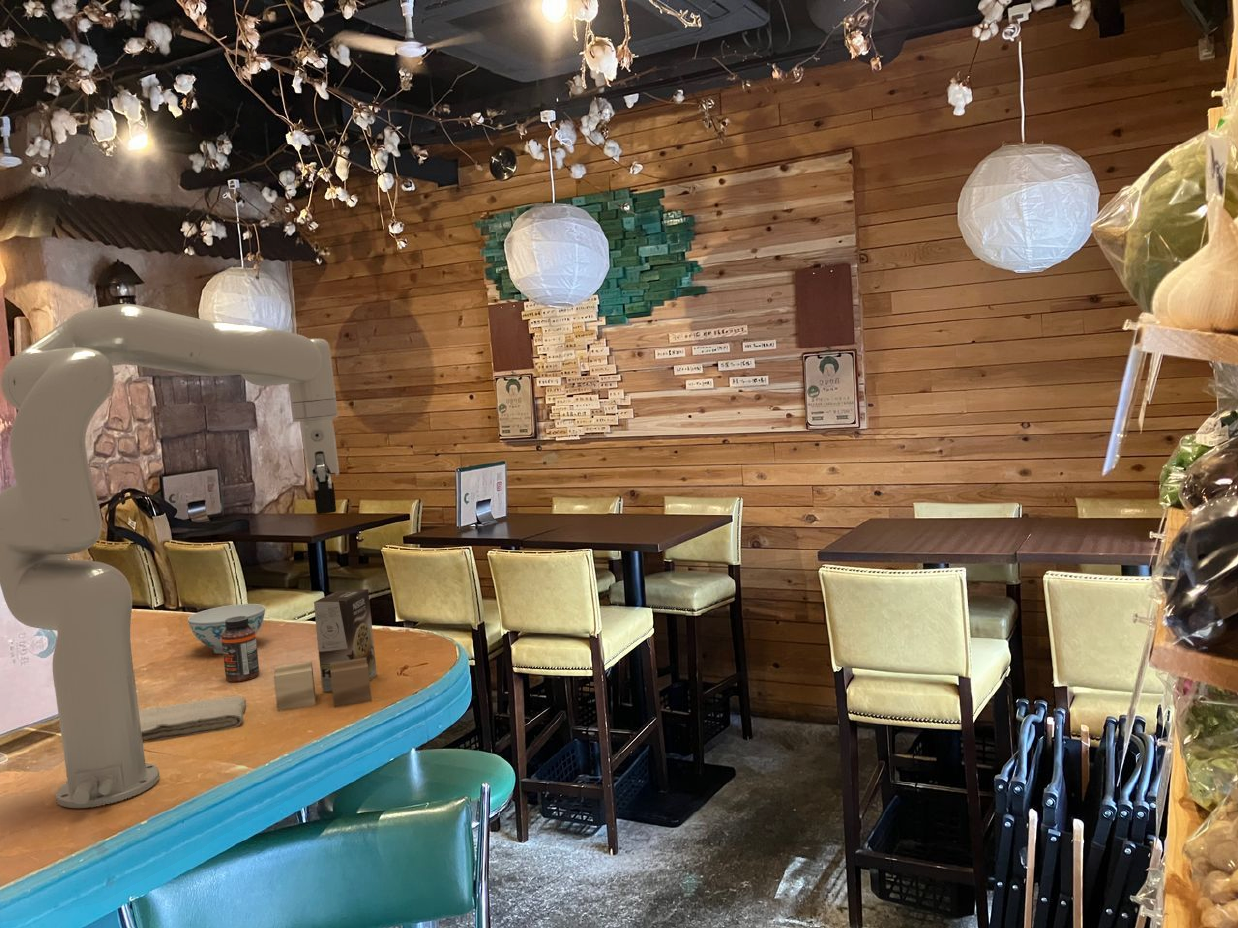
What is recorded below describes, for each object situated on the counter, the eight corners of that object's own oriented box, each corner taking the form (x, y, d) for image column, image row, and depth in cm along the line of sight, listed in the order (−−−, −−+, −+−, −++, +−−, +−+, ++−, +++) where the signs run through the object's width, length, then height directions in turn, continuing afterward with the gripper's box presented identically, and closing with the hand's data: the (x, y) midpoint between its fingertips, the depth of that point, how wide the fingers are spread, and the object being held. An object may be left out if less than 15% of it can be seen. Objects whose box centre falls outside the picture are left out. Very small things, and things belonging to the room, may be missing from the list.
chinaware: (192, 647, 209) (187, 611, 208) (266, 634, 215) (262, 600, 214) (191, 664, 195) (187, 626, 194) (271, 650, 201) (267, 613, 200)
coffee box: (355, 692, 169) (346, 600, 168) (321, 692, 170) (311, 601, 169) (378, 675, 178) (369, 588, 176) (346, 675, 179) (336, 589, 178)
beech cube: (315, 705, 164) (311, 670, 163) (277, 711, 162) (273, 676, 162) (315, 694, 170) (311, 660, 169) (279, 700, 168) (275, 666, 167)
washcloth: (133, 725, 162) (130, 707, 162) (248, 706, 167) (246, 688, 167) (119, 750, 151) (116, 730, 151) (243, 729, 156) (241, 710, 156)
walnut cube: (371, 701, 164) (367, 666, 163) (334, 707, 162) (330, 672, 161) (369, 691, 169) (366, 657, 169) (333, 696, 168) (330, 662, 167)
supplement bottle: (218, 681, 182) (211, 621, 181) (244, 671, 187) (237, 613, 186) (241, 683, 179) (234, 623, 178) (266, 673, 184) (260, 614, 183)
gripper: (337, 410, 162) (349, 513, 164) (336, 407, 178) (347, 500, 180) (290, 415, 160) (303, 518, 161) (293, 411, 176) (305, 505, 178)
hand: (326, 509), depth 171 cm, fingers open, 9 cm apart
